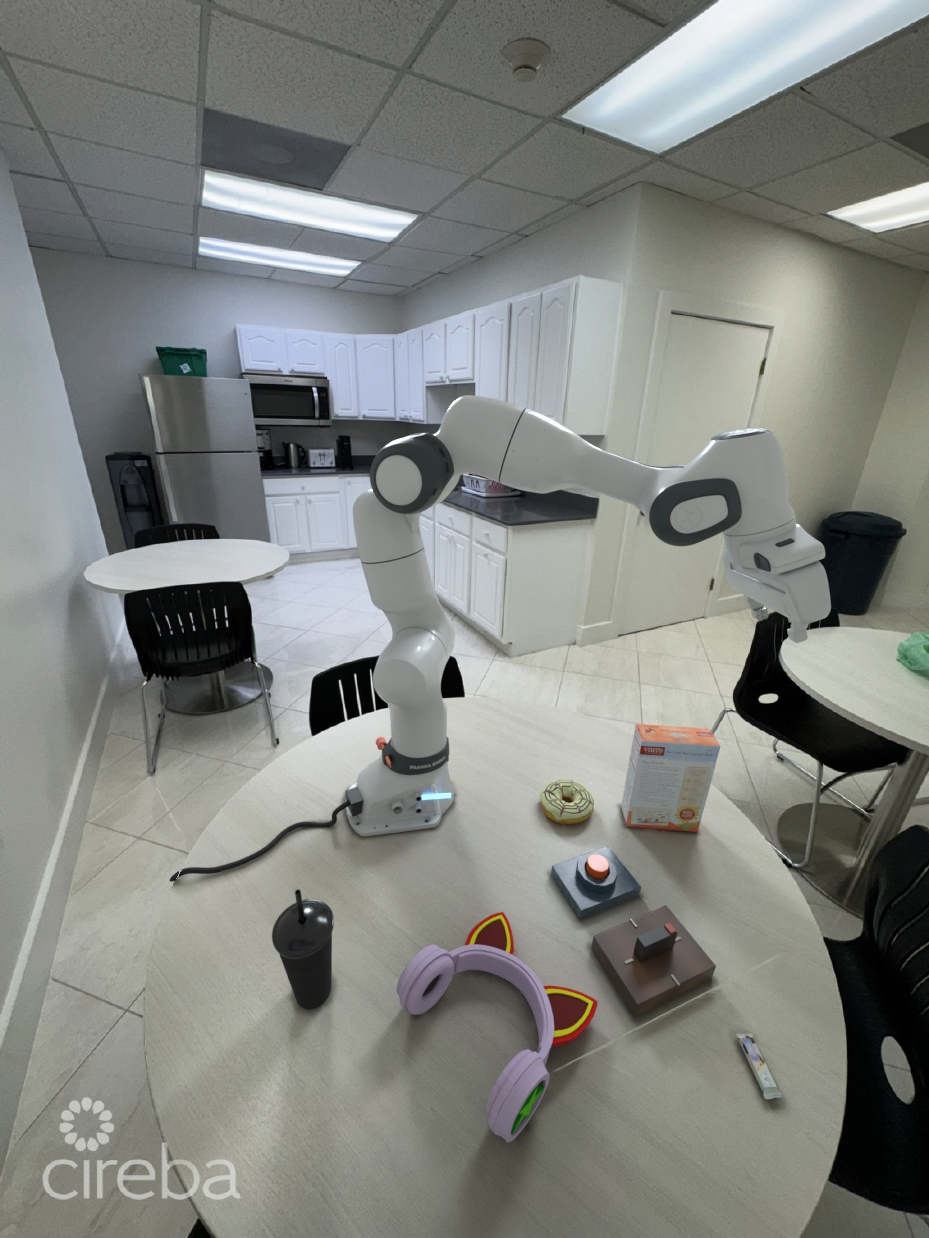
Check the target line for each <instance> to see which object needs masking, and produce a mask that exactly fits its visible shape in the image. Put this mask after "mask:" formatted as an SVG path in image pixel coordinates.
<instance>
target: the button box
mask: <svg viewBox="0 0 929 1238" xmlns="http://www.w3.org/2000/svg"><path fill="white" fill-rule="evenodd" d="M592 854H599V855H602V856H604V857H605V858H606V859H607V860H608V863H609V869H608V874H607V876H606V877H605V878H603V879H596V878H594V877H592V876H591V875H589V873H588V872H587V870H586V865H587V859H588V857H589V856H590V855H592ZM550 875H551V877H552V878H553V880H554V882H555V883H556V885H557V886H558V888H559V890H560V892H561V893H562V894H563V896H564V897H565V899H566V900H567V902H568V903H569V905H570V906H571V908H572V910H573V911H574V913H575V915H576V916H577V918H578V920H583V919H585V918H588V917H589V916H592V915H594V914H597V913H600V912H602V911H604V910H607V909H609V908H613V907H614V906H617V905H620V904H622V903H625V902H627V901H629V900H632V899H634V898H637V897H639V896H640V894H641V890H642V886H641V884H640V883H639V882H638V881H637V880H636V878H635V877H634V876H633V875H632V873H631V872H630V871H629V869H627V867H626V866H625V865H624V863H623V862H622V861H621V860H620V858H619V857H618V856H617V855H616V854H615V852H614V851H613V850H612V849H611V847H610V846H609V845H607V846H604V847H601V848H599V849H596V850H593V851H589V852H587V853H585V854H581V855H579V856H575V857H573V858H570V859H566V860H564V861H562V862H561V861H560V862H559V863H555V864H553V865H551V869H550Z"/></svg>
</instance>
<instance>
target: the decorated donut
mask: <svg viewBox="0 0 929 1238" xmlns="http://www.w3.org/2000/svg"><path fill="white" fill-rule="evenodd" d="M539 799H540V805H541V809H542V811H543V814H544V815H545V817H546V818H548V819H549V820H551V821H553V822H555V823H557V824H562V825H574V824H581V823H582V822H585V821H586V820H587V819H588V818H590V817H591V816H592V813H593V811H594V806H595V798H594V796H593V795H592V793H591V792H590V791H589V790H588V789H587V788H586V787H585V785H583V784H581V783H580V782H578V781H575V780H572V779H561V778H559V779H556V780H554V781H550V782H549V783H548V784H547V785H545V787H544V788H543V789H541V791H540V792H539Z"/></svg>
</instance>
